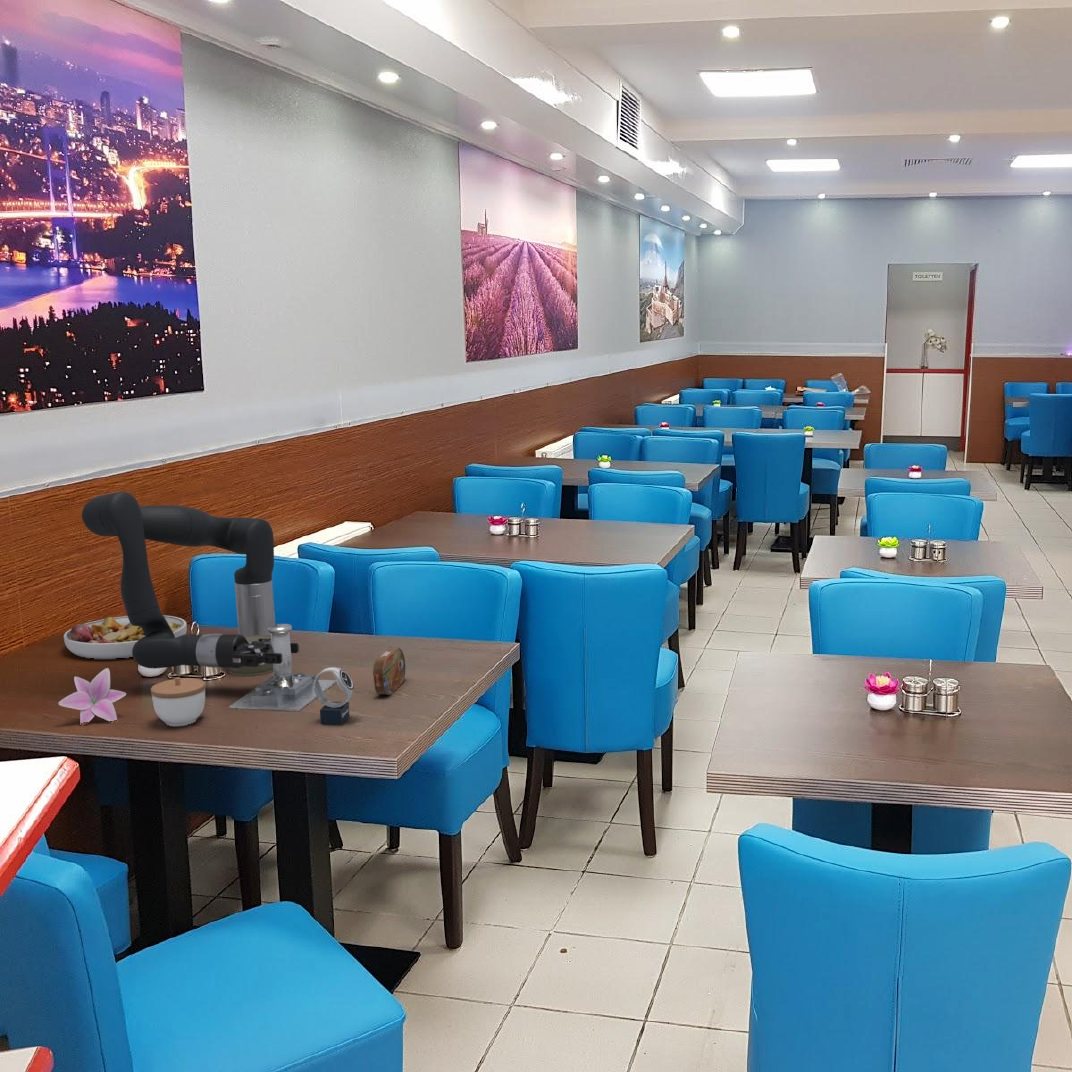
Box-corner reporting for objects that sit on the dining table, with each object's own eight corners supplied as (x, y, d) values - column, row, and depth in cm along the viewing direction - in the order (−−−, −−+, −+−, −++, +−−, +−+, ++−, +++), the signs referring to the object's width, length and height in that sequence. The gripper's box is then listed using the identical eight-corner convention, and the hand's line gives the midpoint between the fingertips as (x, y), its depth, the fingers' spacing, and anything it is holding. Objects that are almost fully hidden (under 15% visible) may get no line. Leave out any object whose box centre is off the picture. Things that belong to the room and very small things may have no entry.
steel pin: (278, 689, 261) (274, 623, 259) (299, 690, 260) (295, 624, 257) (268, 695, 256) (264, 629, 254) (290, 696, 255) (285, 629, 253)
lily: (52, 730, 242) (54, 697, 237) (77, 693, 252) (79, 660, 247) (109, 745, 243) (113, 712, 238) (131, 707, 253) (135, 675, 247)
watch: (350, 725, 237) (347, 672, 235) (312, 724, 238) (309, 672, 236) (358, 716, 242) (355, 665, 240) (321, 715, 243) (318, 664, 241)
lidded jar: (175, 733, 235) (171, 688, 233) (143, 724, 241) (139, 680, 239) (218, 719, 243) (215, 675, 241) (186, 710, 249) (183, 667, 248)
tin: (386, 700, 253) (384, 662, 251) (372, 699, 253) (370, 661, 252) (407, 679, 267) (405, 644, 266) (394, 679, 268) (392, 643, 266)
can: (284, 662, 285) (283, 634, 284) (272, 676, 273) (270, 647, 272) (235, 663, 285) (233, 635, 284) (221, 677, 273) (219, 648, 272)
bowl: (161, 626, 324) (159, 599, 323) (206, 647, 302) (204, 617, 300) (49, 647, 306) (46, 617, 305) (88, 670, 283) (85, 639, 282)
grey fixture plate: (271, 679, 270) (270, 665, 269) (336, 682, 267) (335, 667, 266) (229, 708, 250) (228, 692, 249) (299, 711, 246) (298, 695, 246)
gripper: (205, 642, 252) (275, 645, 249) (235, 626, 266) (302, 628, 262) (207, 676, 253) (277, 679, 250) (237, 658, 267) (304, 660, 264)
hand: (290, 653), depth 256 cm, fingers open, 8 cm apart
